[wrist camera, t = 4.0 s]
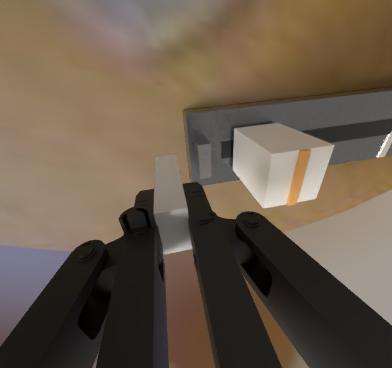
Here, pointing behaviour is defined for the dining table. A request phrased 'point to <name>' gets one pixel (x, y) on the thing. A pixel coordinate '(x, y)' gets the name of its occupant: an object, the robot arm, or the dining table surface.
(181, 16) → the dining table surface
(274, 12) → the dining table surface
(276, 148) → the fader
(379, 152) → the grey slider track
